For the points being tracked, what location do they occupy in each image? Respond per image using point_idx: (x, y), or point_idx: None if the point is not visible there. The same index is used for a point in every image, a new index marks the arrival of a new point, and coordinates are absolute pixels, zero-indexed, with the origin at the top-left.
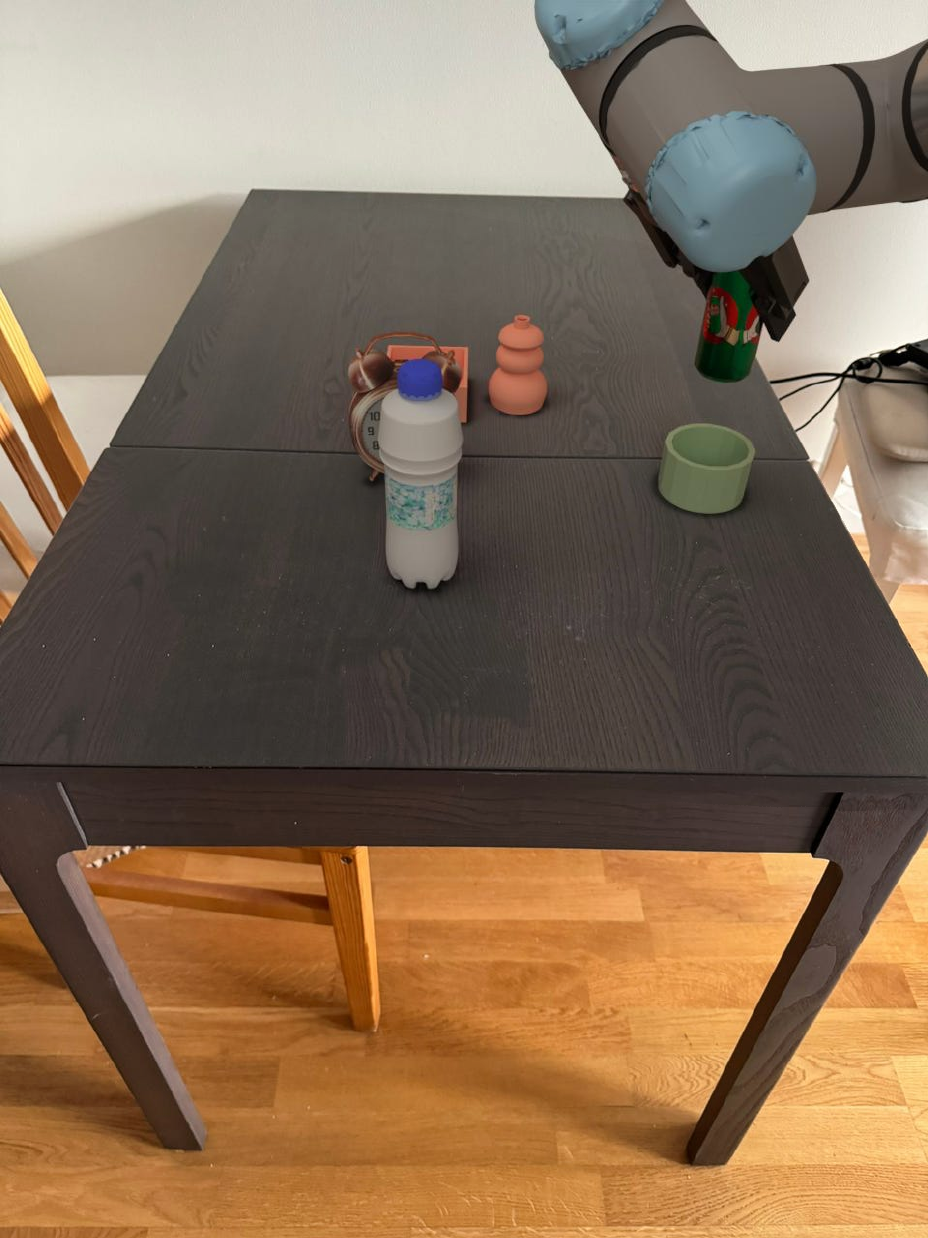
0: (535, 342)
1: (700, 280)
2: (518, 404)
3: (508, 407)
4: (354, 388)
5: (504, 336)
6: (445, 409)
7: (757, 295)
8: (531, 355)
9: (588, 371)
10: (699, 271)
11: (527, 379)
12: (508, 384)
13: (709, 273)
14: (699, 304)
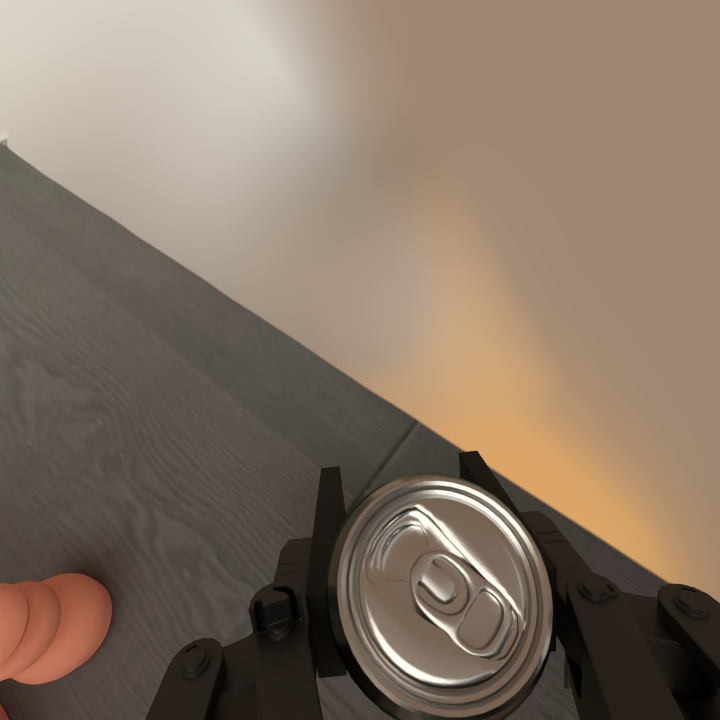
0: (17, 632)
1: (329, 669)
2: (81, 660)
3: (71, 671)
4: None
5: None
6: None
7: (574, 696)
8: (31, 636)
9: (115, 468)
10: (315, 674)
11: (60, 638)
12: (39, 672)
13: None
14: (142, 261)
